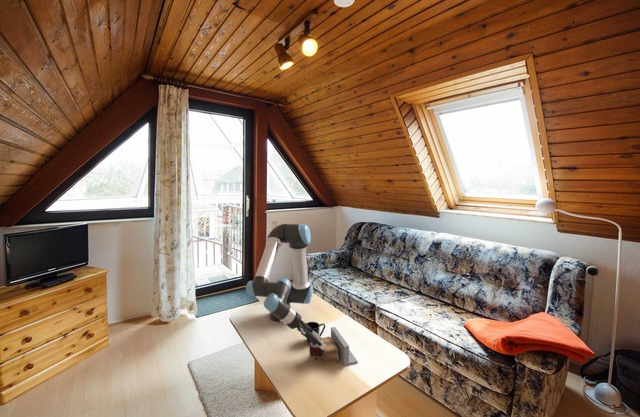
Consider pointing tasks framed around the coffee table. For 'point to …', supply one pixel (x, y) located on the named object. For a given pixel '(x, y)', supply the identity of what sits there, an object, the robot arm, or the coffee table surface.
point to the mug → (315, 328)
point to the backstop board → (342, 348)
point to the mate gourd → (315, 350)
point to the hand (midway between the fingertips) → (322, 343)
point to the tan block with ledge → (329, 351)
